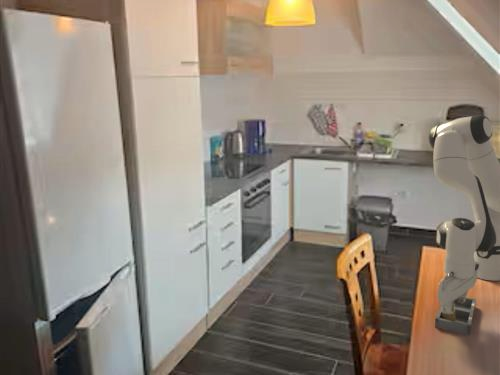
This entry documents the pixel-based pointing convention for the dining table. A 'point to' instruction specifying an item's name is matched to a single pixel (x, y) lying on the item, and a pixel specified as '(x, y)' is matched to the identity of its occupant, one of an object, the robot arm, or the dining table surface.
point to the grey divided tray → (458, 317)
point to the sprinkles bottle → (448, 315)
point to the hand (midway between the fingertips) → (455, 306)
